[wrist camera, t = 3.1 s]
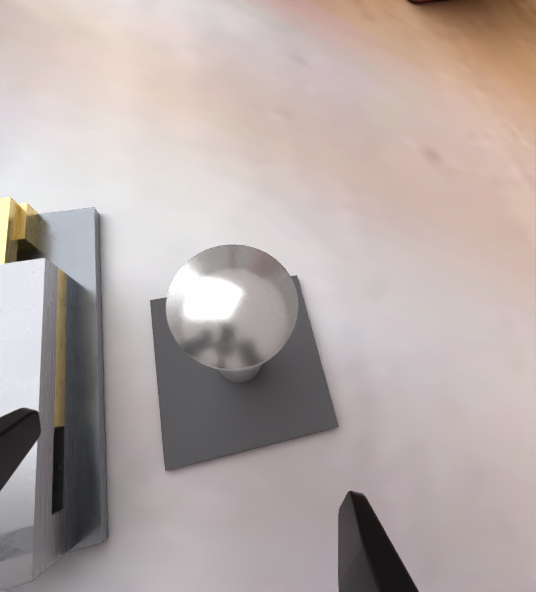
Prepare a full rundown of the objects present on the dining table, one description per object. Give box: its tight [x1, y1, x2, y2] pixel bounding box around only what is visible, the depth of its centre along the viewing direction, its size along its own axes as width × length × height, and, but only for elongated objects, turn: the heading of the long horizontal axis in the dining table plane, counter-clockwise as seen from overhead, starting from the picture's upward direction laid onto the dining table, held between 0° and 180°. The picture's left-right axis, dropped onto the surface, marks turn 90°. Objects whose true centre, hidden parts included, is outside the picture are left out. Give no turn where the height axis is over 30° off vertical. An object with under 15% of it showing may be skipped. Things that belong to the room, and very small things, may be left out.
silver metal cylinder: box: [166, 245, 298, 383], centre depth 15 cm, size 4×4×12 cm
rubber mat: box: [150, 275, 338, 471], centre depth 20 cm, size 11×11×1 cm
